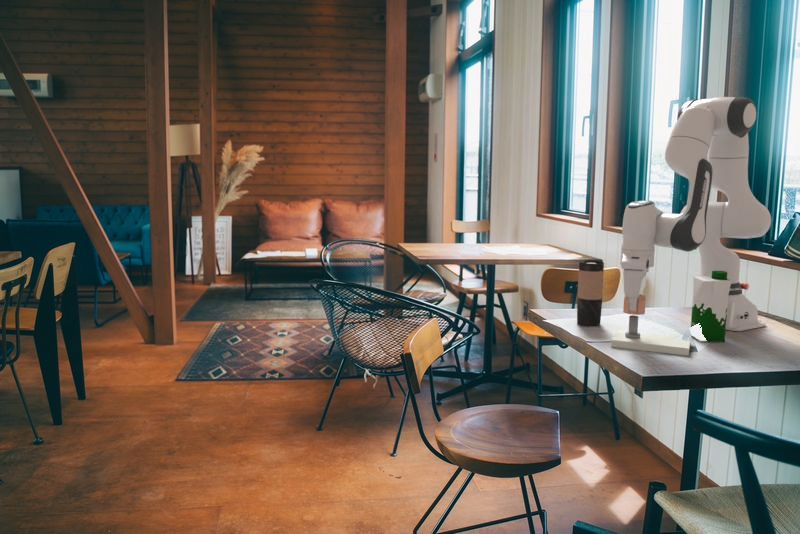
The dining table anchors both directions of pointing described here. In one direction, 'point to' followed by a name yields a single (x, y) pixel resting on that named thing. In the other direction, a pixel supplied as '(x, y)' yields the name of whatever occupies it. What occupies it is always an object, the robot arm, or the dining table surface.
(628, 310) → the cap
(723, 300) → the milk carton
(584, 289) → the travel mug
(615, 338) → the post board
